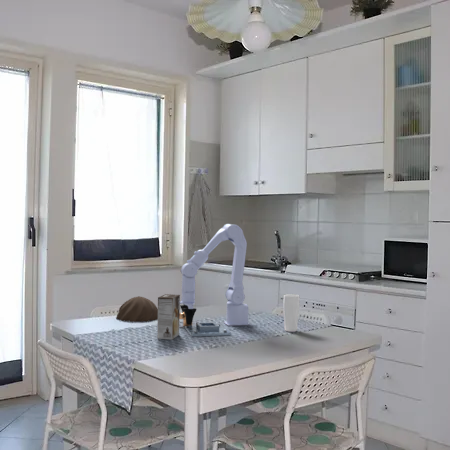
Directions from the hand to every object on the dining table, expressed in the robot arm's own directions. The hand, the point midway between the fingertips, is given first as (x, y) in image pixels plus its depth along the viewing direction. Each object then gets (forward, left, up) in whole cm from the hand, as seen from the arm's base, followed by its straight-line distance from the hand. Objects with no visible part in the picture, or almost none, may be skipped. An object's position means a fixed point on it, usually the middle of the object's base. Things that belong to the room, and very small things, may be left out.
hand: (187, 322), depth 238 cm
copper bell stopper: (0, 0, -1) cm, 1 cm away
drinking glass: (-41, +16, -1) cm, 44 cm away
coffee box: (+11, +20, -1) cm, 23 cm away
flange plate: (-6, +13, -1) cm, 14 cm away
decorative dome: (+20, -21, -2) cm, 29 cm away
